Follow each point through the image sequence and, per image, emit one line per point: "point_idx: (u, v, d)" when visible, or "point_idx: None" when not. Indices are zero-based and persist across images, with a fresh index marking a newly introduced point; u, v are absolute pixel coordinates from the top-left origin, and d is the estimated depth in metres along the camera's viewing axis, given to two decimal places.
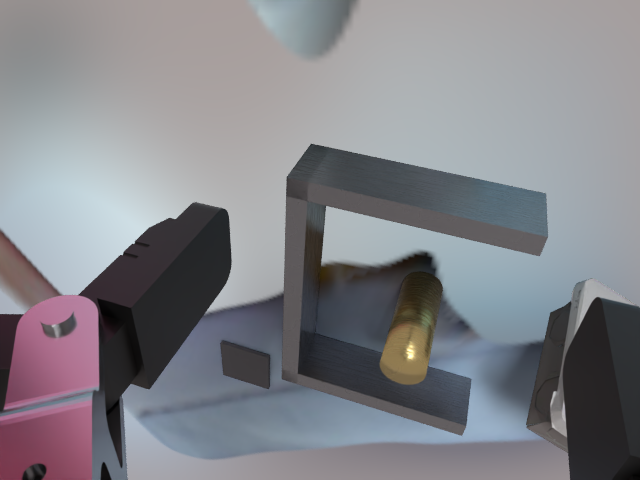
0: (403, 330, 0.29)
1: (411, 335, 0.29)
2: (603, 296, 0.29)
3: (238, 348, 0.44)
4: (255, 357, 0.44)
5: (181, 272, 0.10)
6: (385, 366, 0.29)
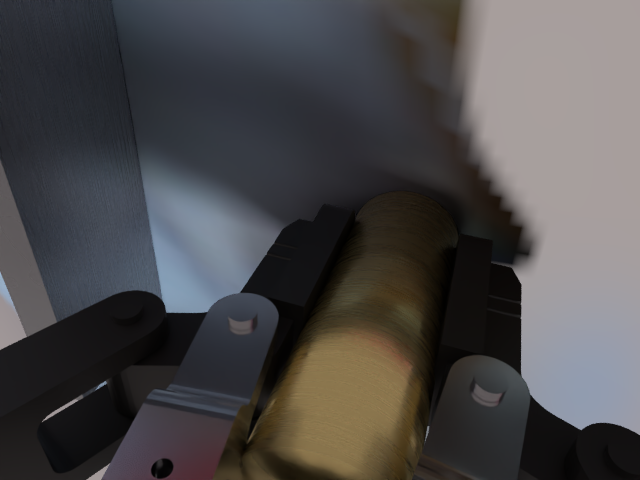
0: (425, 418, 0.08)
1: None
2: None
3: None
4: None
5: (328, 271, 0.10)
6: (308, 468, 0.07)
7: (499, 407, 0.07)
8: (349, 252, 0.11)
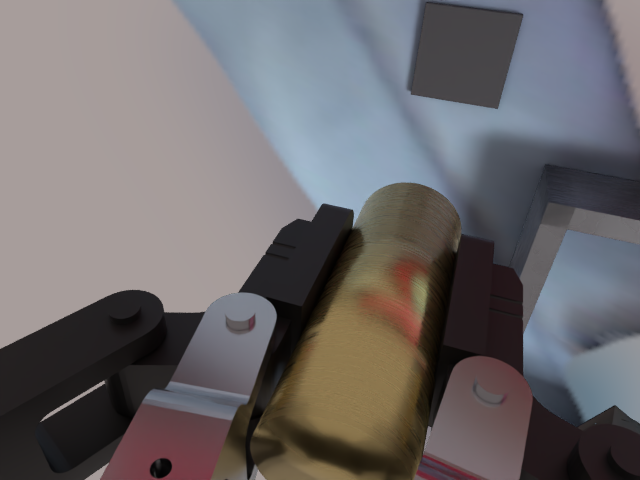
0: (430, 393, 0.09)
1: None
2: None
3: (512, 52, 0.24)
4: (493, 83, 0.25)
5: (326, 271, 0.11)
6: (321, 434, 0.07)
7: (501, 408, 0.07)
8: (356, 240, 0.11)
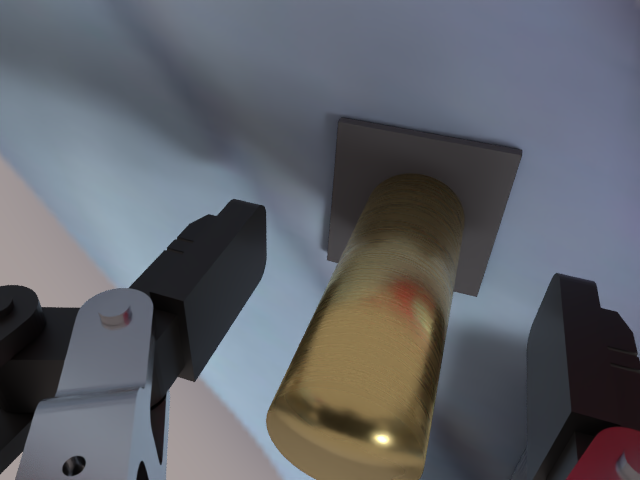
0: (436, 371, 0.09)
1: (435, 398, 0.09)
2: None
3: (501, 213, 0.13)
4: (467, 258, 0.14)
5: (225, 266, 0.10)
6: (335, 406, 0.08)
7: None
8: (364, 227, 0.11)
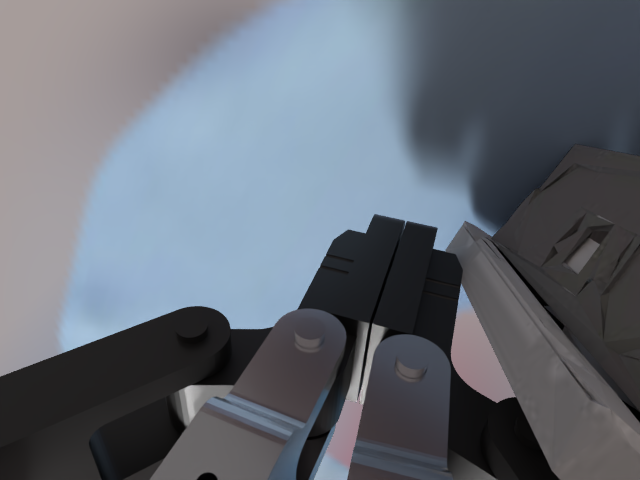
0: None
1: None
2: None
3: None
4: None
5: (384, 285, 0.10)
6: None
7: (418, 382, 0.08)
8: None
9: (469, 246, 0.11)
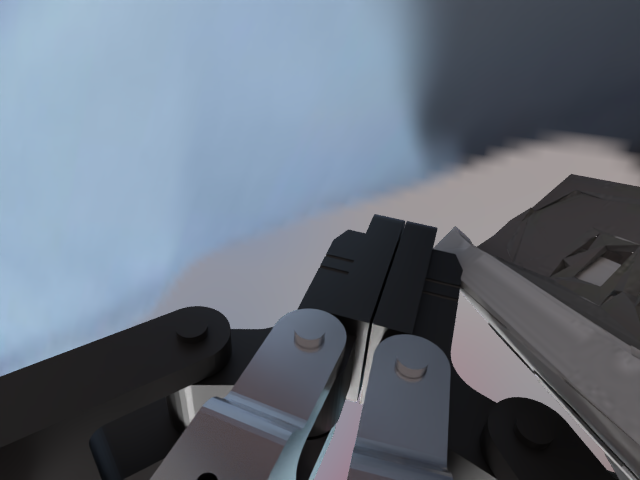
0: None
1: None
2: None
3: None
4: None
5: (385, 285, 0.10)
6: None
7: (418, 382, 0.08)
8: None
9: (465, 249, 0.11)
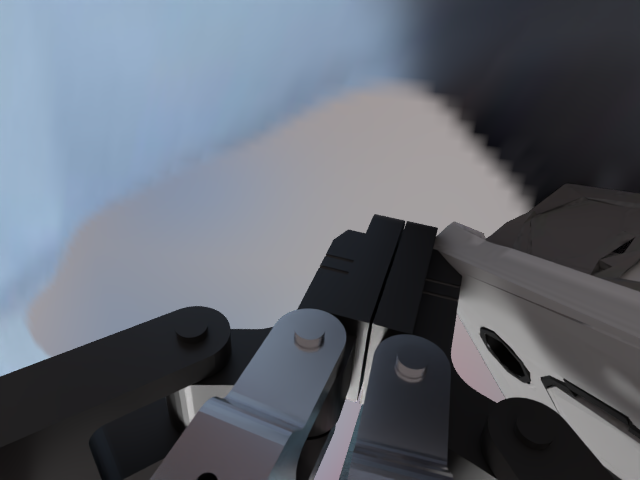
0: None
1: None
2: None
3: None
4: None
5: (385, 285, 0.10)
6: None
7: (419, 382, 0.08)
8: None
9: (478, 244, 0.11)
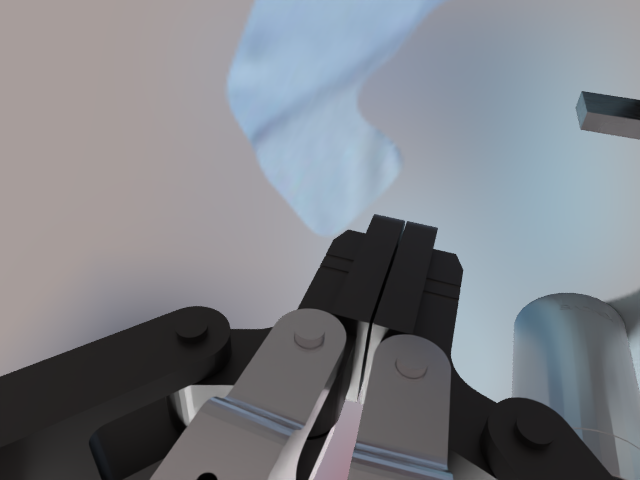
0: None
1: None
2: None
3: None
4: None
5: (385, 285, 0.10)
6: None
7: (419, 382, 0.08)
8: None
9: None
